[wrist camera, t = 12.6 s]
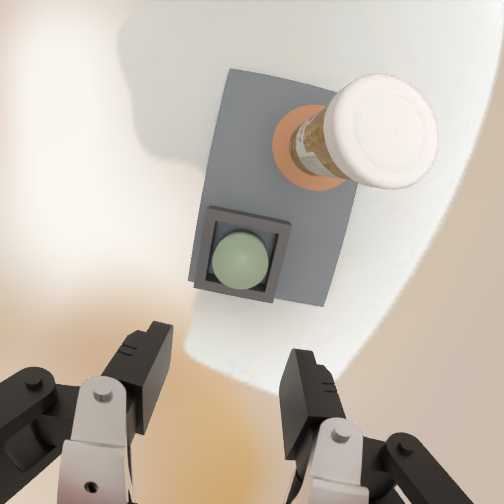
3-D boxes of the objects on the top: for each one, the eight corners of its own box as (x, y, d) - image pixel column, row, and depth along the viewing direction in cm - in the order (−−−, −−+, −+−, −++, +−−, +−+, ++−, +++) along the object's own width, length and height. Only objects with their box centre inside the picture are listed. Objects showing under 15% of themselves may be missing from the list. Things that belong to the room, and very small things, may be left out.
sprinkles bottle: (310, 109, 21) (378, 48, 8) (354, 146, 22) (459, 131, 9) (275, 153, 22) (309, 132, 9) (321, 189, 23) (402, 216, 10)
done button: (220, 225, 23) (217, 230, 21) (272, 235, 23) (273, 242, 21) (212, 273, 24) (208, 283, 22) (260, 283, 24) (261, 294, 22)
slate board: (230, 71, 21) (228, 61, 19) (369, 106, 22) (381, 100, 19) (189, 277, 26) (183, 288, 24) (321, 302, 27) (327, 316, 24)
